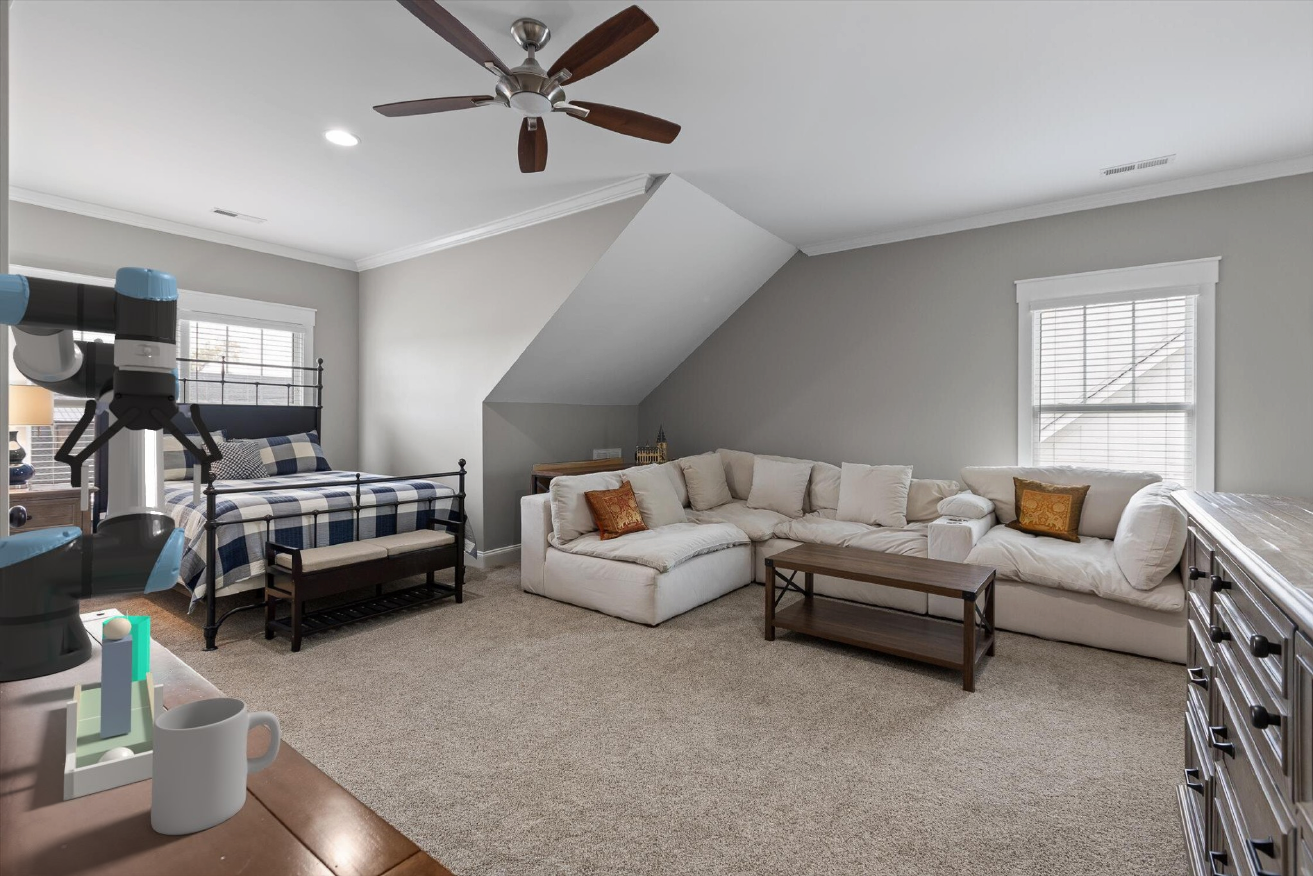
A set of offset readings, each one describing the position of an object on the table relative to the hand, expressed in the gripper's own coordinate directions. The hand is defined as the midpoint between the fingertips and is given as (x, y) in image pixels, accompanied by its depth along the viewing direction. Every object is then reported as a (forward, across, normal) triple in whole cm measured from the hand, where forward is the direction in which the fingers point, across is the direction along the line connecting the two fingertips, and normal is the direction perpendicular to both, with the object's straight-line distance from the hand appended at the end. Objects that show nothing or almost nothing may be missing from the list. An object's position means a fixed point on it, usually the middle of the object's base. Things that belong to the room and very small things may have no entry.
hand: (142, 507), depth 100 cm
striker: (+27, -3, -20) cm, 33 cm away
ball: (+27, -3, -29) cm, 39 cm away
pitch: (+29, -3, -12) cm, 32 cm away
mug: (+29, +6, -43) cm, 52 cm away
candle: (+30, -2, +6) cm, 30 cm away
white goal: (+29, -3, -28) cm, 40 cm away
